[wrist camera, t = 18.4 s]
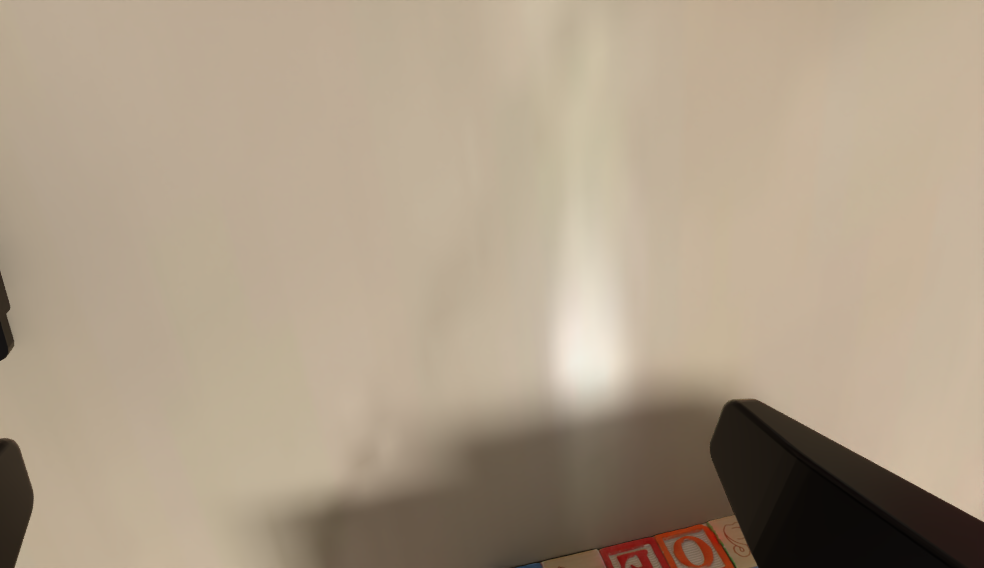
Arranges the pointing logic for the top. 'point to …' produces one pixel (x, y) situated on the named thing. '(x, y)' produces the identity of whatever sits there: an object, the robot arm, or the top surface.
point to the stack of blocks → (669, 550)
